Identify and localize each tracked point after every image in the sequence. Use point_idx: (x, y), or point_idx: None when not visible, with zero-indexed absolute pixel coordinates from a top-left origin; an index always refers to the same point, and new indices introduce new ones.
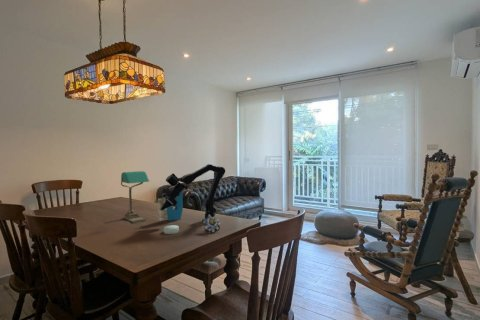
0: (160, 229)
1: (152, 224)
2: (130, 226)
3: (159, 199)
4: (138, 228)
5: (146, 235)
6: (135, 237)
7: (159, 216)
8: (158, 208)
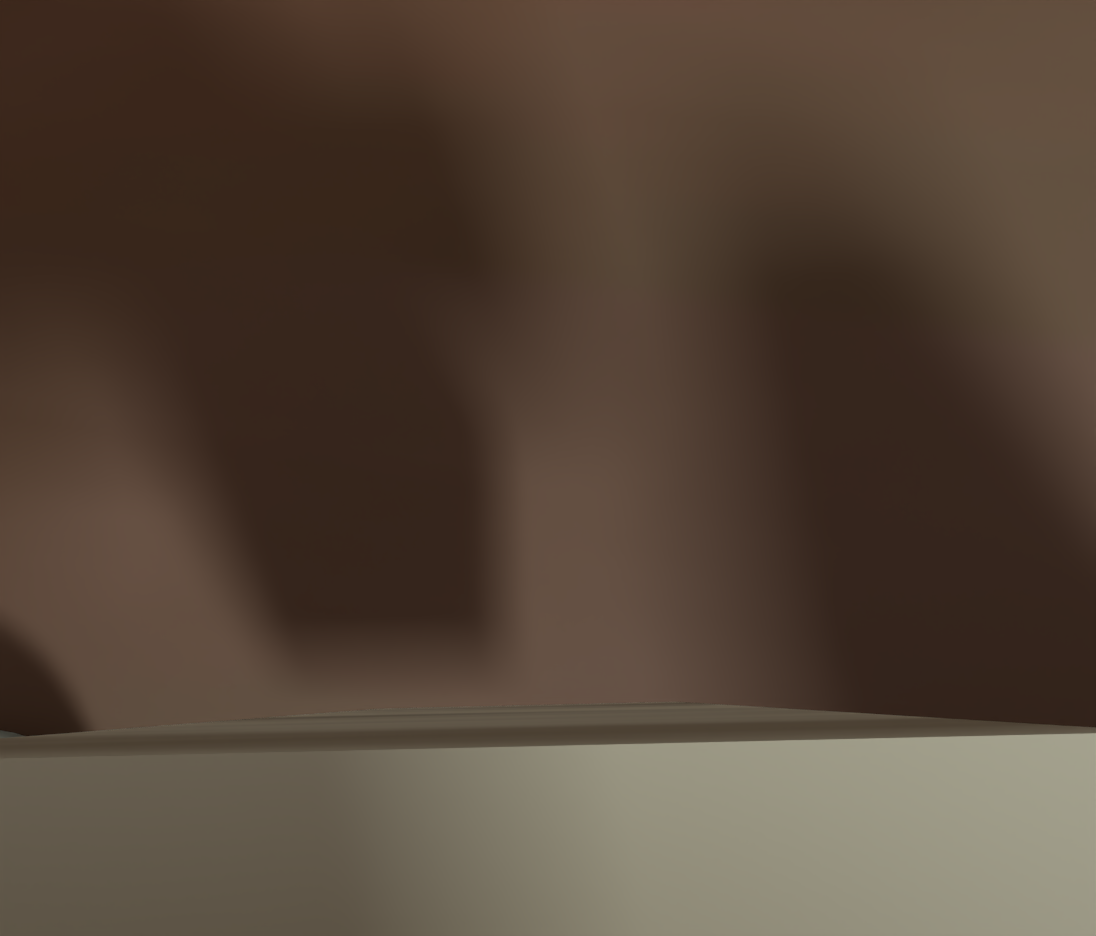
0: (360, 700)
1: (1041, 575)
2: (1083, 9)
3: (301, 905)
4: (781, 167)
5: (27, 270)
6: (30, 33)
7: (446, 708)
8: (670, 709)
